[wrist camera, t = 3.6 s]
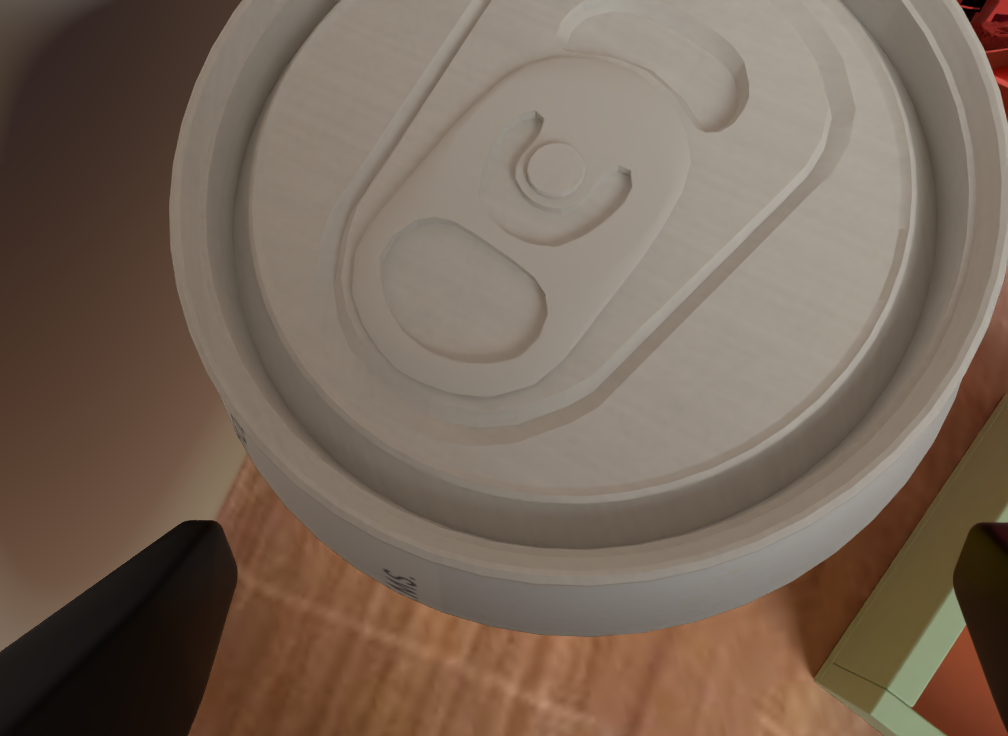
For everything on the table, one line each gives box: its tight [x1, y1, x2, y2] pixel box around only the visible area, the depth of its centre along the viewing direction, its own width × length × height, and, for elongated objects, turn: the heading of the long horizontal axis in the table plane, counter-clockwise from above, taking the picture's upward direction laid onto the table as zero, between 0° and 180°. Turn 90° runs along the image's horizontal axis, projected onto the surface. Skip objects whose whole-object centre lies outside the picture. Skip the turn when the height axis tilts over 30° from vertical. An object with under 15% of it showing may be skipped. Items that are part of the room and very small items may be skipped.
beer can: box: [169, 0, 1008, 637], centre depth 12 cm, size 6×6×15 cm
